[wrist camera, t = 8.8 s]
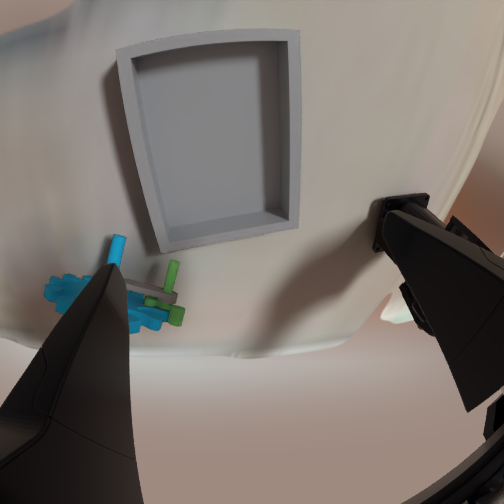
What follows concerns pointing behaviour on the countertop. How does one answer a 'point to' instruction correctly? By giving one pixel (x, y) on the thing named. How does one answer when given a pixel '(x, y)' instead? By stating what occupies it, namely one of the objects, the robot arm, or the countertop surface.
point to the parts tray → (216, 132)
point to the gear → (139, 309)
